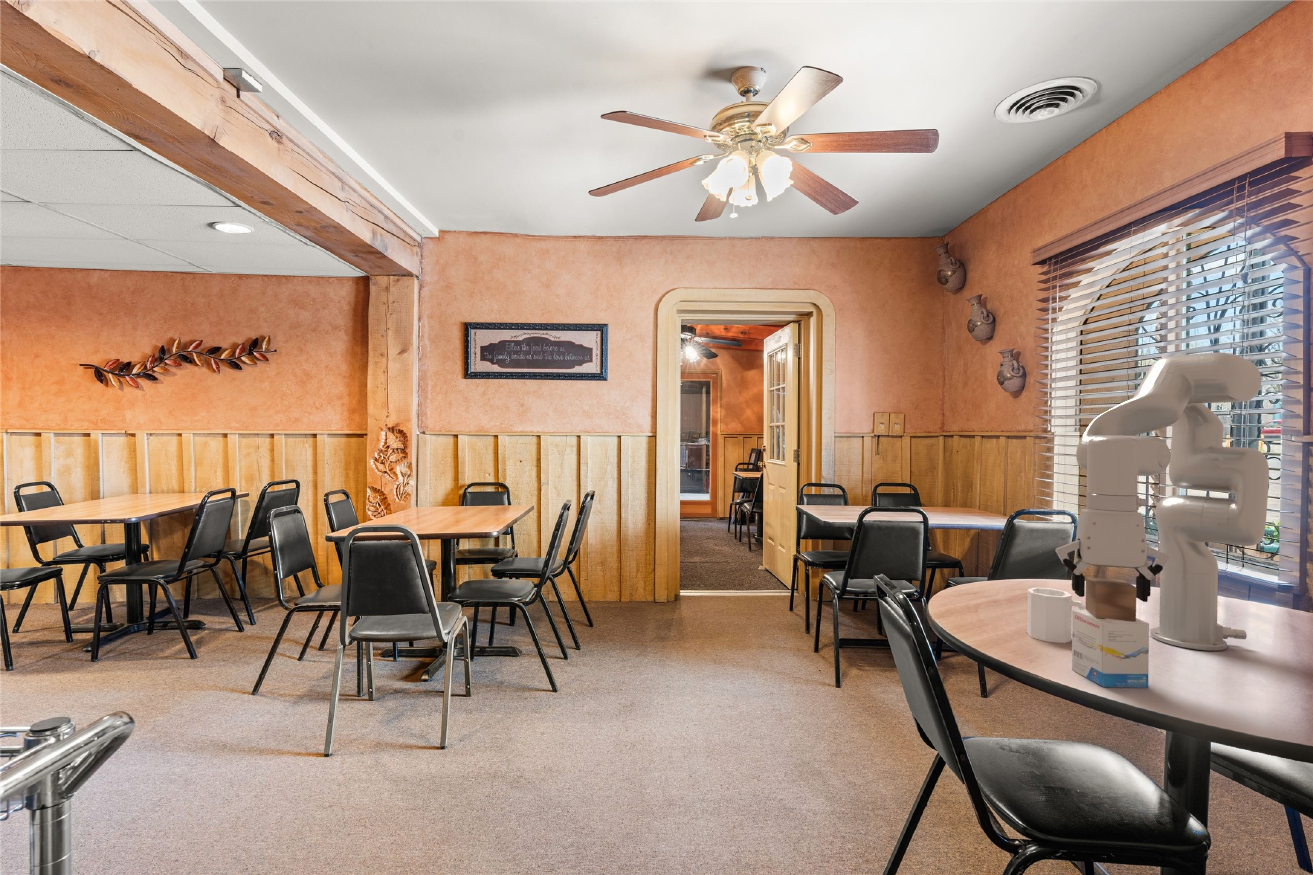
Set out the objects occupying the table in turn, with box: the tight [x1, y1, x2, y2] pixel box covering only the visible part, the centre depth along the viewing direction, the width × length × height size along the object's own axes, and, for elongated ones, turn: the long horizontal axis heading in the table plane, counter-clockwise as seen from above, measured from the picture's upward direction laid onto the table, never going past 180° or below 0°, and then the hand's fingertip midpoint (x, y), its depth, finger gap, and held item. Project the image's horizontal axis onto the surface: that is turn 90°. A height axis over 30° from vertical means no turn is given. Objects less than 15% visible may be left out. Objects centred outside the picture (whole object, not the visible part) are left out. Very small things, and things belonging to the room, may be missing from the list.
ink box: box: [1071, 609, 1150, 689], centre depth 114 cm, size 9×8×12 cm
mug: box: [1026, 587, 1086, 644], centre depth 137 cm, size 12×9×10 cm
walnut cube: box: [1085, 576, 1137, 621], centre depth 114 cm, size 6×6×6 cm
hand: (1110, 597), depth 114 cm, fingers open, 9 cm apart
